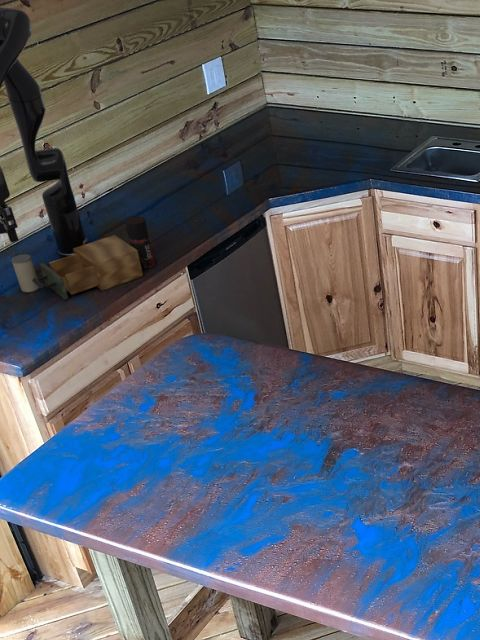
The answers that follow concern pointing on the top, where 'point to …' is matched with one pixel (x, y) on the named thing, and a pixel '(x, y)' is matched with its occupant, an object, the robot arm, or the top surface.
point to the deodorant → (140, 240)
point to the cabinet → (111, 261)
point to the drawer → (67, 275)
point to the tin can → (25, 272)
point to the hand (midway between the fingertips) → (8, 237)
